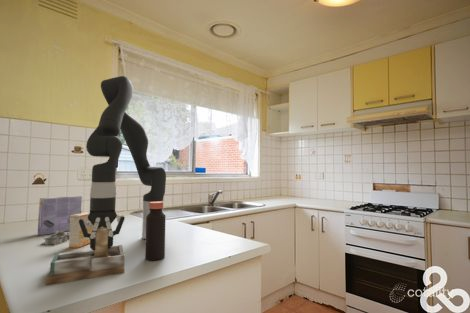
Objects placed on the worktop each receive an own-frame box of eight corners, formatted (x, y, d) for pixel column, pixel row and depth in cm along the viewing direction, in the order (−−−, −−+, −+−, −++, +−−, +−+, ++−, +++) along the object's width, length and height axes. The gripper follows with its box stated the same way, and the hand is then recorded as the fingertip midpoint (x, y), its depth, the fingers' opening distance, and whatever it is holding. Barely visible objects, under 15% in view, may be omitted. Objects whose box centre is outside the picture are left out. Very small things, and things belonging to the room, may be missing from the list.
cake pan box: (78, 227, 143) (79, 195, 144) (83, 228, 140) (84, 195, 141) (36, 234, 128) (38, 198, 129) (40, 236, 125) (42, 198, 126)
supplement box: (78, 248, 106) (79, 215, 107) (68, 247, 107) (69, 215, 108) (93, 242, 114) (94, 212, 115) (83, 242, 115) (84, 211, 116)
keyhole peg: (111, 257, 90) (112, 225, 90) (112, 263, 84) (113, 228, 84) (90, 260, 87) (91, 226, 87) (89, 266, 81) (90, 230, 82)
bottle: (154, 262, 90) (155, 203, 91) (141, 258, 94) (142, 202, 95) (168, 256, 96) (169, 201, 97) (156, 253, 100) (157, 200, 101)
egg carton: (59, 238, 121) (59, 229, 122) (75, 239, 121) (75, 230, 121) (41, 245, 111) (41, 235, 111) (57, 245, 110) (58, 235, 111)
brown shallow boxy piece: (121, 257, 95) (121, 243, 96) (124, 272, 81) (124, 256, 81) (54, 265, 86) (55, 251, 87) (45, 285, 72) (46, 267, 72)
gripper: (125, 194, 93) (124, 243, 92) (79, 195, 86) (77, 248, 86) (127, 196, 86) (126, 249, 85) (77, 197, 80) (75, 255, 79)
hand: (101, 248), depth 85 cm, fingers closed on keyhole peg, 4 cm apart
